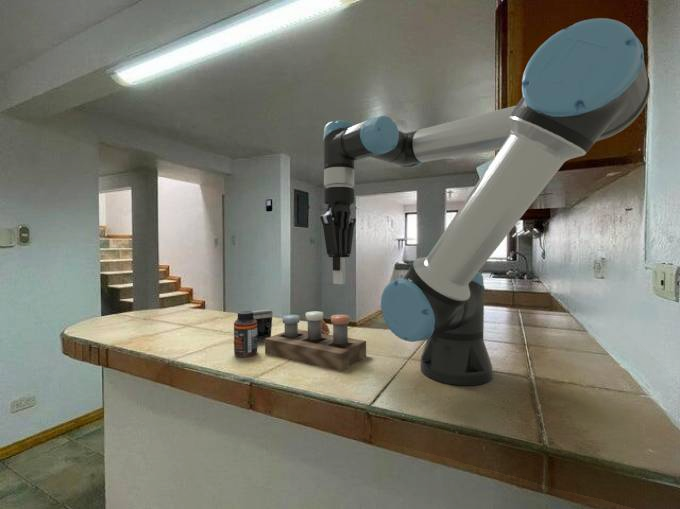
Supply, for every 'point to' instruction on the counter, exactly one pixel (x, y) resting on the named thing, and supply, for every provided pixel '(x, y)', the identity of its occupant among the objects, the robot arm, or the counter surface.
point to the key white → (314, 324)
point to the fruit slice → (324, 327)
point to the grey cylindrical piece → (291, 325)
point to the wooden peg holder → (316, 350)
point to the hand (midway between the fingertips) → (339, 283)
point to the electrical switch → (263, 323)
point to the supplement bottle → (245, 334)
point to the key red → (340, 328)
